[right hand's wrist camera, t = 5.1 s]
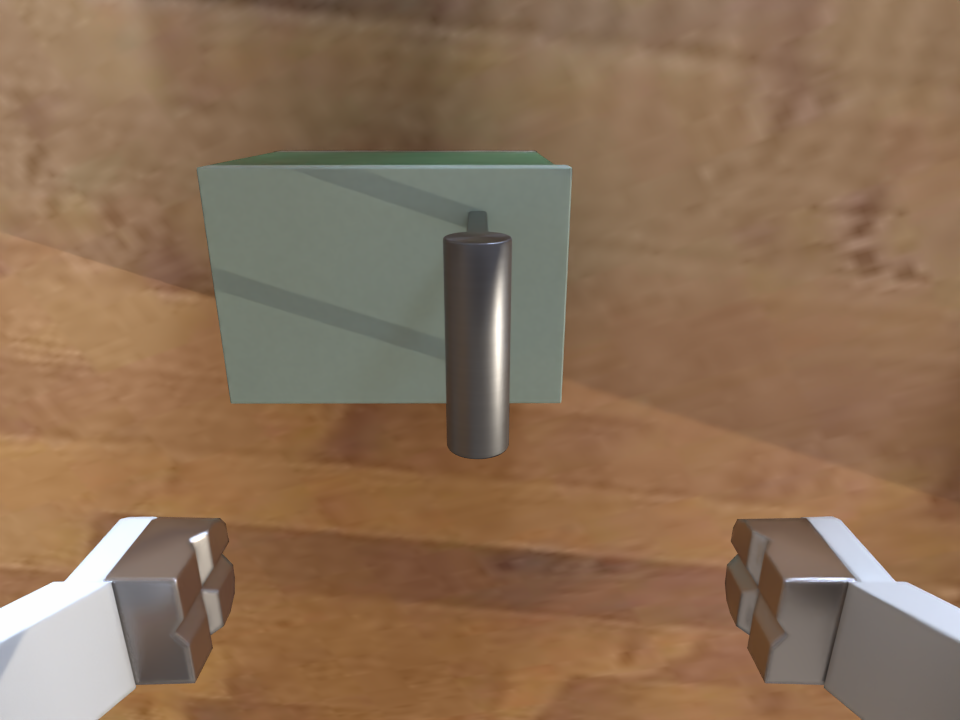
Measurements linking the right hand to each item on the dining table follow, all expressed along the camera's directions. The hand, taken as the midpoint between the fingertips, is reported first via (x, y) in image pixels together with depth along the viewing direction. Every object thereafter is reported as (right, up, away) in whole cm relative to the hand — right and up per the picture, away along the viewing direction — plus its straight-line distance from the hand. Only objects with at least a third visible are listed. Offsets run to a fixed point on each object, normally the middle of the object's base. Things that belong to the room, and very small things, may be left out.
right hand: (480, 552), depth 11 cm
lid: (-4, +6, +16) cm, 18 cm away
